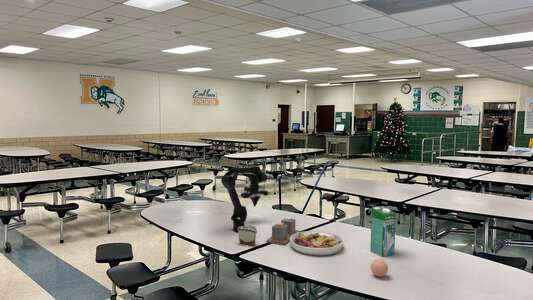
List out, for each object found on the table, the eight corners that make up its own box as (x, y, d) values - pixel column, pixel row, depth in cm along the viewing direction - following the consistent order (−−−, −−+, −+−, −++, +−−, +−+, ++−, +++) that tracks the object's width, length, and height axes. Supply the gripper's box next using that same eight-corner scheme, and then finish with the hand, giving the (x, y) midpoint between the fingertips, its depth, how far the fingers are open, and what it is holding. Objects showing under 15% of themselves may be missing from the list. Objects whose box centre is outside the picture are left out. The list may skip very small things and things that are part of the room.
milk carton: (382, 257, 195) (383, 211, 193) (370, 251, 203) (371, 207, 201) (394, 254, 199) (396, 209, 197) (382, 248, 207) (383, 205, 205)
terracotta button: (281, 230, 217) (281, 224, 216) (275, 229, 218) (275, 223, 218) (283, 228, 220) (283, 223, 220) (278, 227, 222) (278, 222, 222)
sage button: (289, 224, 229) (290, 218, 229) (284, 223, 231) (284, 218, 230) (292, 222, 233) (292, 217, 232) (286, 221, 234) (286, 216, 234)
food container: (260, 243, 215) (260, 227, 214) (256, 247, 209) (256, 230, 208) (242, 240, 220) (242, 224, 219) (237, 244, 214) (237, 227, 213)
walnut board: (284, 245, 212) (284, 243, 212) (266, 242, 217) (266, 240, 217) (300, 232, 235) (300, 230, 235) (283, 230, 240) (283, 228, 240)
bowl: (312, 235, 231) (312, 223, 230) (353, 248, 209) (353, 234, 209) (279, 247, 210) (279, 233, 209) (321, 262, 189) (321, 247, 188)
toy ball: (384, 272, 176) (385, 256, 175) (390, 279, 168) (391, 263, 167) (368, 272, 176) (368, 256, 175) (373, 279, 168) (373, 263, 167)
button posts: (282, 241, 215) (282, 228, 214) (271, 239, 218) (271, 226, 217) (295, 231, 234) (295, 219, 233) (285, 230, 237) (285, 217, 236)
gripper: (260, 180, 261) (260, 202, 263) (236, 183, 251) (237, 205, 253) (268, 183, 252) (268, 205, 253) (244, 186, 242) (244, 209, 243)
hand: (254, 206), depth 251 cm, fingers closed
